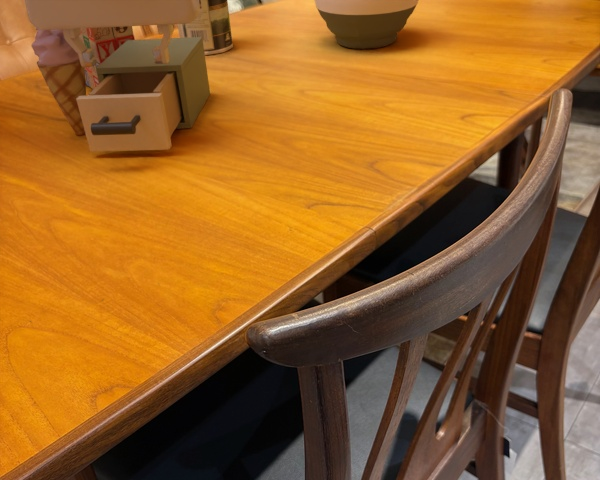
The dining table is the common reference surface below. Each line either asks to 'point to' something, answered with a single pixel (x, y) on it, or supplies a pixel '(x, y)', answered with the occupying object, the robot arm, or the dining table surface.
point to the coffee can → (210, 26)
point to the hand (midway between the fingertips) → (125, 64)
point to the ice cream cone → (61, 73)
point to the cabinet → (166, 69)
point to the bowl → (365, 20)
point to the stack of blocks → (103, 46)
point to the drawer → (132, 112)
